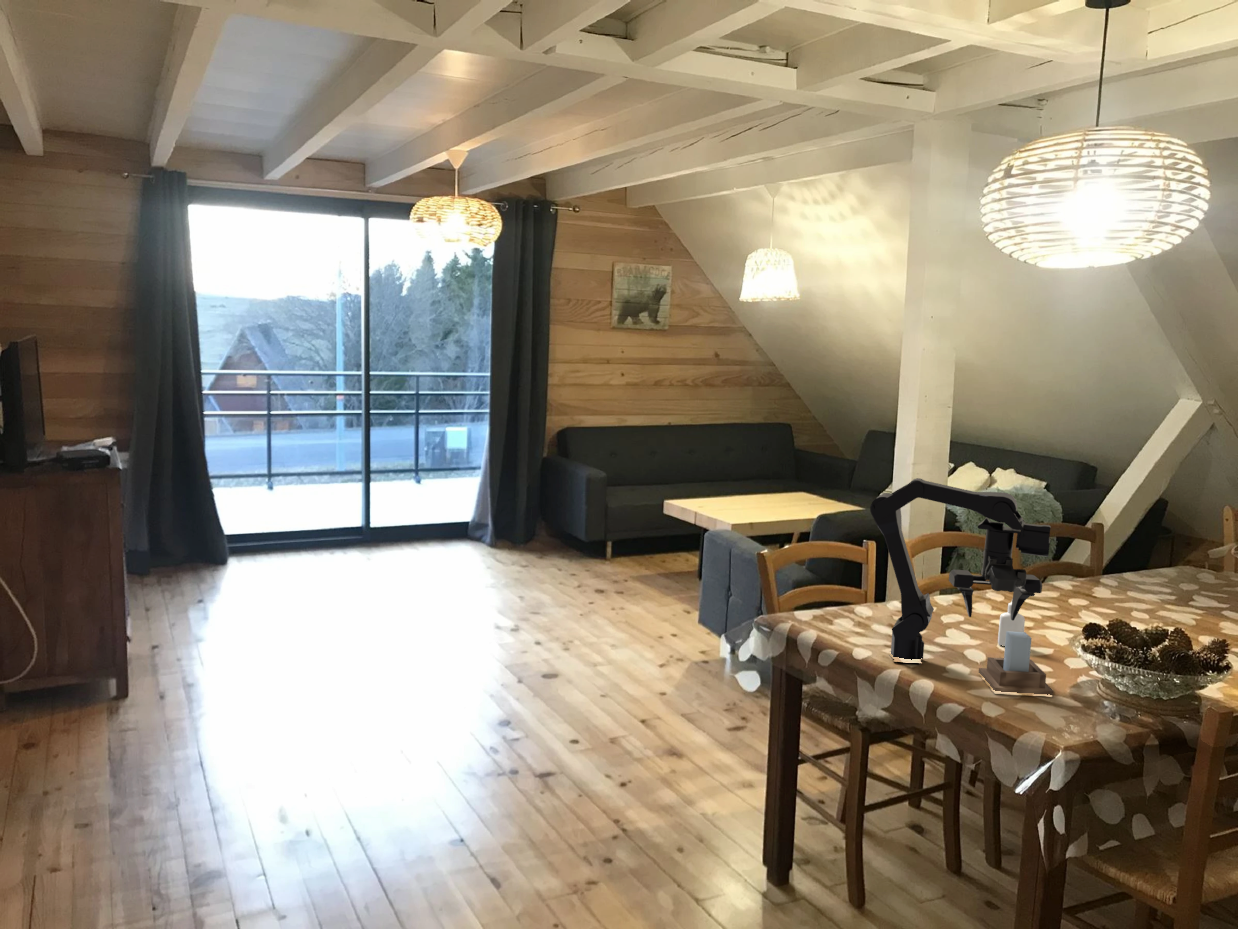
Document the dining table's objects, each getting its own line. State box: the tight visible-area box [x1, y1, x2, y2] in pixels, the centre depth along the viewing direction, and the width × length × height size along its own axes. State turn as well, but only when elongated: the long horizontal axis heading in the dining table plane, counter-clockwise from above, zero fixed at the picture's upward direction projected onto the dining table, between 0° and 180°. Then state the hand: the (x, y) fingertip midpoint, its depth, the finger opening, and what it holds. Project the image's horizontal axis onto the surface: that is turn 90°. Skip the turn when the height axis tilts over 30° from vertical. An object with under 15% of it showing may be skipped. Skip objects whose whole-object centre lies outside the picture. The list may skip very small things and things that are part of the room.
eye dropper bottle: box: [997, 601, 1026, 646], centre depth 236 cm, size 4×6×12 cm
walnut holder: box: [978, 657, 1054, 696], centre depth 210 cm, size 12×12×4 cm
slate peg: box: [1003, 631, 1032, 672], centre depth 210 cm, size 4×4×10 cm
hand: (990, 618), depth 216 cm, fingers open, 9 cm apart
